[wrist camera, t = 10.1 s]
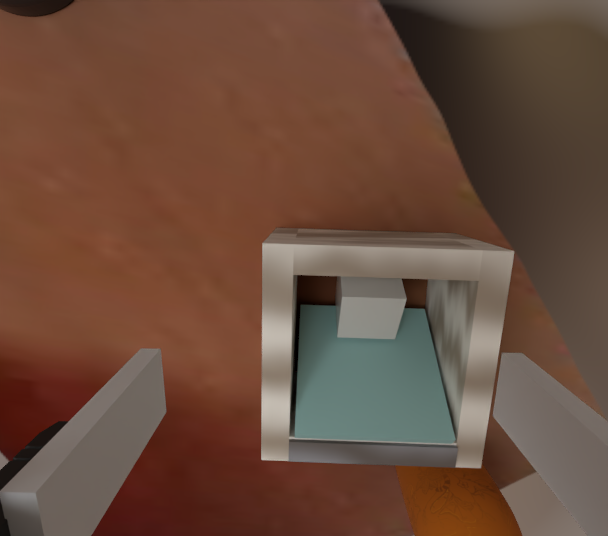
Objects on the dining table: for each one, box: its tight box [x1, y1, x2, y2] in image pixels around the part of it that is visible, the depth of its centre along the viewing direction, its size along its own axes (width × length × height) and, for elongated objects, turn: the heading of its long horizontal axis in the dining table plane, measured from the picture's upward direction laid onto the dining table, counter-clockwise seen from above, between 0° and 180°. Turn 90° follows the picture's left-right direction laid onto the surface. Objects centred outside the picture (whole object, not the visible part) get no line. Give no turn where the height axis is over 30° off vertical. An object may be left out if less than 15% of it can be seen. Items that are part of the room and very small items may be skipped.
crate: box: [261, 228, 515, 468], centre depth 37 cm, size 20×20×12 cm
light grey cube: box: [335, 276, 407, 339], centre depth 38 cm, size 6×6×6 cm
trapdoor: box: [295, 305, 455, 444], centre depth 37 cm, size 14×14×1 cm
